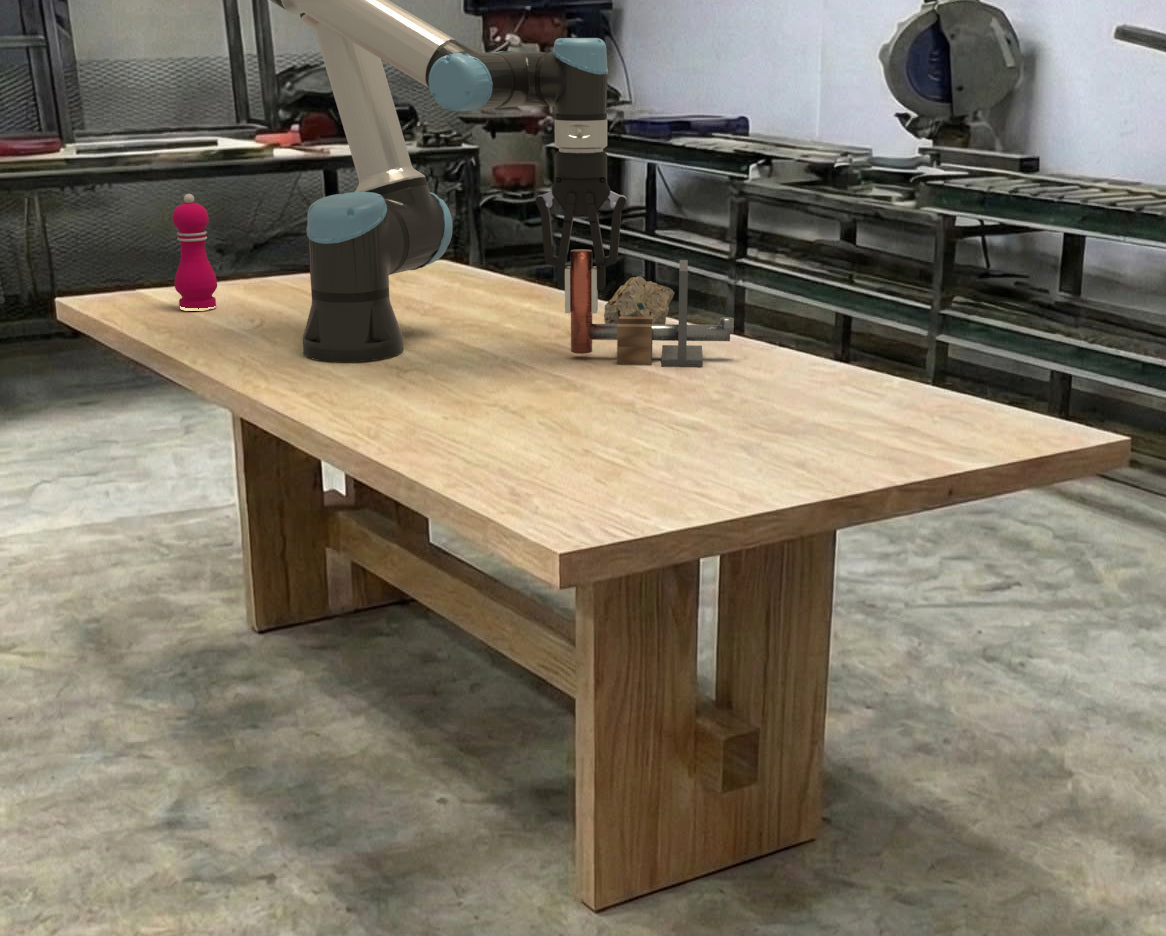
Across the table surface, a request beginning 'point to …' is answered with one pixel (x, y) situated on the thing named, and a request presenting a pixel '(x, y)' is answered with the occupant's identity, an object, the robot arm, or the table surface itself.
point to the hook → (587, 331)
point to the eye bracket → (682, 332)
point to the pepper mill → (193, 257)
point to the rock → (639, 301)
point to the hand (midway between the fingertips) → (581, 311)
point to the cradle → (634, 340)
